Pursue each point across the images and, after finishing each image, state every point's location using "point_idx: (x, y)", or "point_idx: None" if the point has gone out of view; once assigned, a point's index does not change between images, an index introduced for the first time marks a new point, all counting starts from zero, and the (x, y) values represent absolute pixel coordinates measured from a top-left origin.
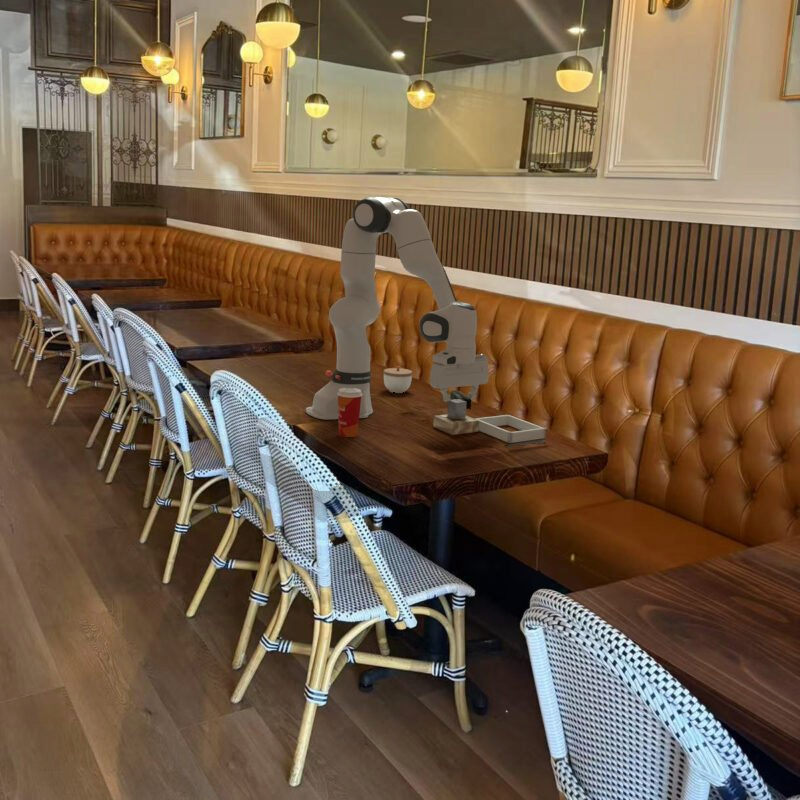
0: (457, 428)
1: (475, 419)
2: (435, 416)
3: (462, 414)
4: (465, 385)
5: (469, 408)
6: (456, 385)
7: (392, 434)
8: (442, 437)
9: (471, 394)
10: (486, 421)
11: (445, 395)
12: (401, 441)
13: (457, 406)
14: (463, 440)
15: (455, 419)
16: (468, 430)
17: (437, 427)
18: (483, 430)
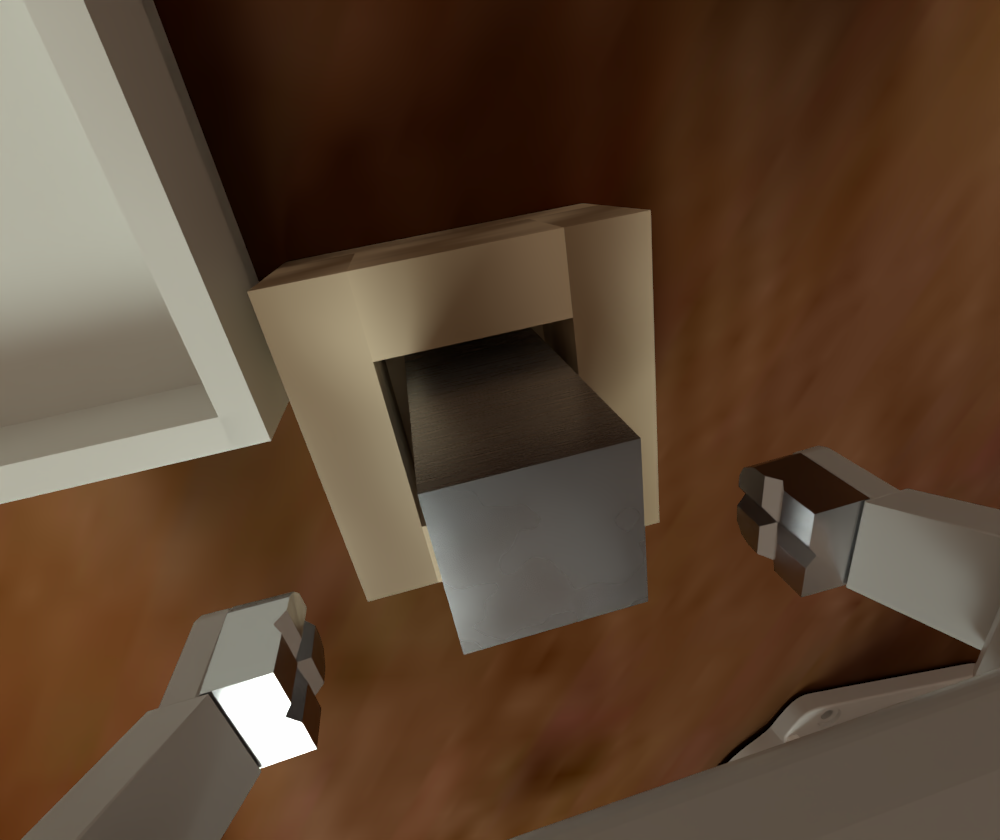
0: (556, 219)
1: (280, 347)
2: (658, 502)
3: (459, 391)
4: (559, 835)
5: None
6: (992, 727)
7: (881, 413)
8: None
9: (272, 661)
10: (104, 429)
11: (940, 503)
12: (946, 241)
13: (581, 419)
14: (487, 147)
15: (545, 352)
16: (404, 245)
17: None
18: (216, 230)
